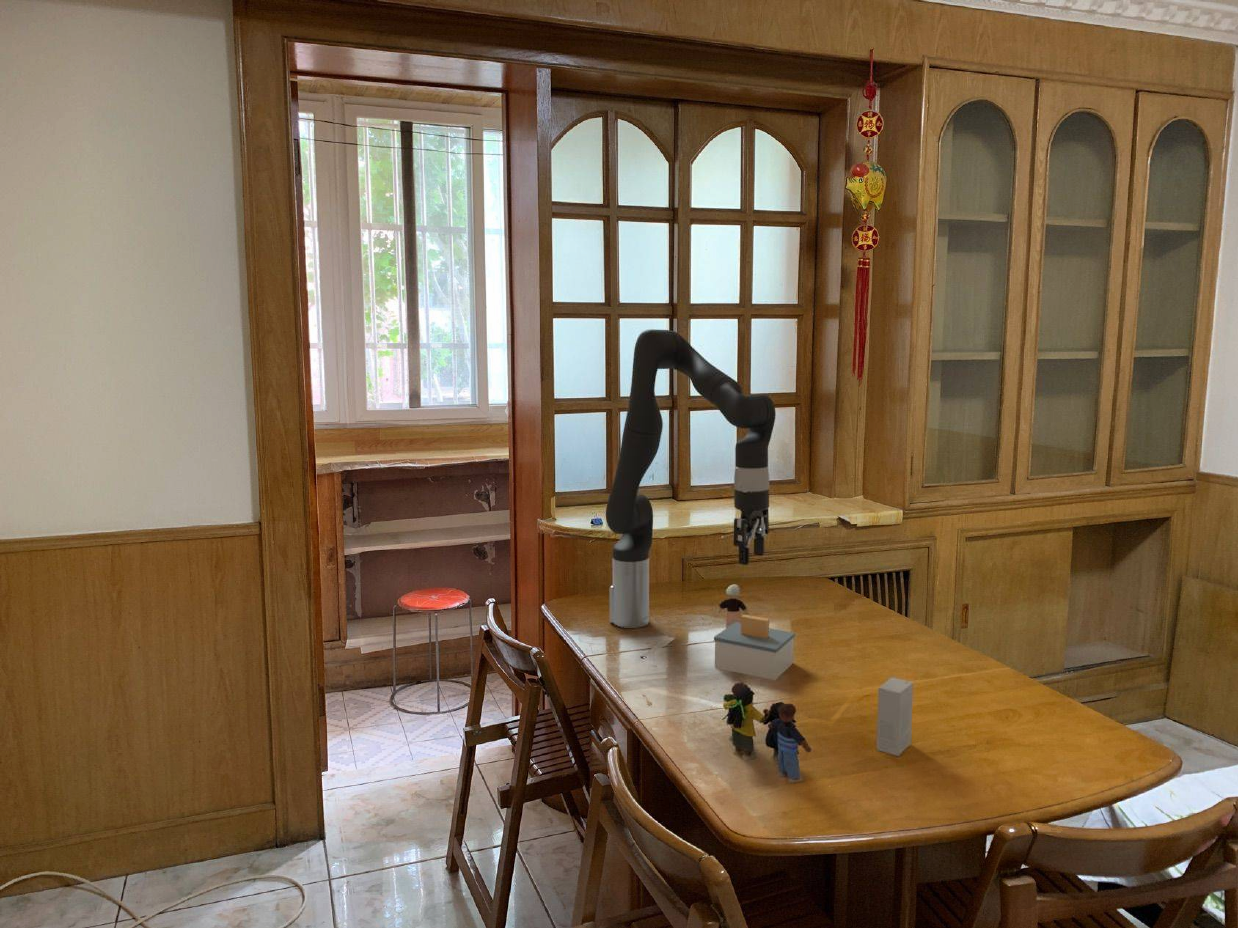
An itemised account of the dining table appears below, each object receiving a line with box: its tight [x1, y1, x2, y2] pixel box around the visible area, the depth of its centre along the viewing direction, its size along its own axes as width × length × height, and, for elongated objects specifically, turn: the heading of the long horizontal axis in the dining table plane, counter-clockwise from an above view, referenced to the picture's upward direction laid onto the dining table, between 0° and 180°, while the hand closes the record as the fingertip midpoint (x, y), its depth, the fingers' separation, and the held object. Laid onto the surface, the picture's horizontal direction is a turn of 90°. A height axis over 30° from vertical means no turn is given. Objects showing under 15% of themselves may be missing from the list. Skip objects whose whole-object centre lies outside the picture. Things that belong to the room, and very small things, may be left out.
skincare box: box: [876, 677, 914, 757], centre depth 161 cm, size 6×4×12 cm
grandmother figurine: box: [716, 583, 750, 629], centre depth 219 cm, size 8×4×13 cm, turn 84°
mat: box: [640, 636, 676, 659], centre depth 207 cm, size 16×14×1 cm
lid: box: [713, 614, 796, 653], centre depth 197 cm, size 14×11×6 cm
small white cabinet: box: [714, 637, 795, 681], centre depth 198 cm, size 14×11×7 cm
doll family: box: [721, 682, 812, 784], centre depth 157 cm, size 23×9×13 cm, turn 45°
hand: (751, 559), depth 196 cm, fingers open, 8 cm apart
